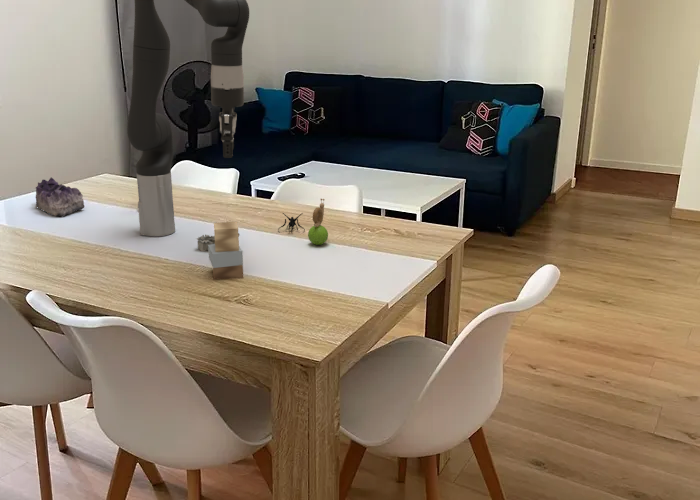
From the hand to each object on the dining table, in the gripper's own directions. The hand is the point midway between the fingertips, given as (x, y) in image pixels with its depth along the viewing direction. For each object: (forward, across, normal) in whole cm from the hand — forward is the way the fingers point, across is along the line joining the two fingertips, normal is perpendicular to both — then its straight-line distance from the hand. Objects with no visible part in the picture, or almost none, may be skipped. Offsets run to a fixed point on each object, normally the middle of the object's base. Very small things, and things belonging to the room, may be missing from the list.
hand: (228, 153), depth 174 cm
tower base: (+28, +8, 0) cm, 29 cm away
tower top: (+24, +9, -1) cm, 26 cm away
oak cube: (+21, +8, 0) cm, 23 cm away
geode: (+30, -53, -56) cm, 83 cm away
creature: (+28, -24, +16) cm, 41 cm away
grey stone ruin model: (+28, -11, -4) cm, 31 cm away
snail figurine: (+27, -12, +23) cm, 38 cm away
